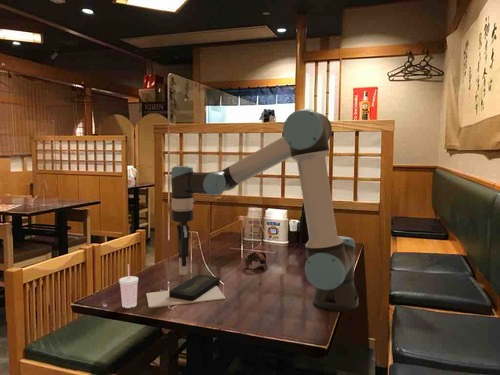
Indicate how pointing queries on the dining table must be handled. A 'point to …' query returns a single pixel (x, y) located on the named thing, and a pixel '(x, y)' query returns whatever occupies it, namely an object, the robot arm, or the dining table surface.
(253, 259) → the pottery mug
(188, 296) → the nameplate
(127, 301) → the beverage cup
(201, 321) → the dining table surface
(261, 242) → the dining table surface
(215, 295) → the beige mat
